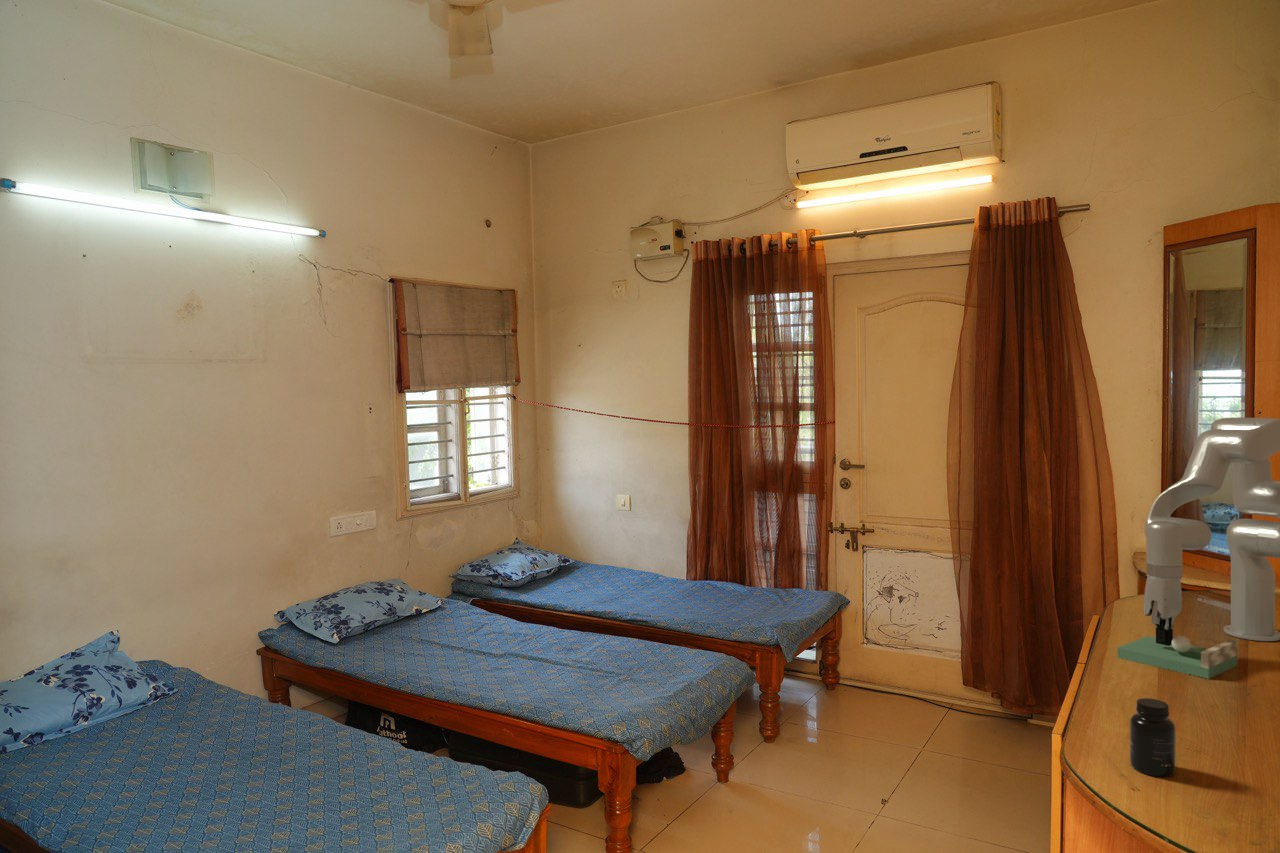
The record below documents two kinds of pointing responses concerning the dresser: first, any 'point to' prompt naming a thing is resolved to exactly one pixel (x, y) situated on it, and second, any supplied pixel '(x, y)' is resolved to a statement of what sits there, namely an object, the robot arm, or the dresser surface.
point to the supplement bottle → (1152, 739)
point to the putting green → (1172, 657)
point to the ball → (1181, 644)
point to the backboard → (1218, 653)
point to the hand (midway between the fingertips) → (1164, 643)
